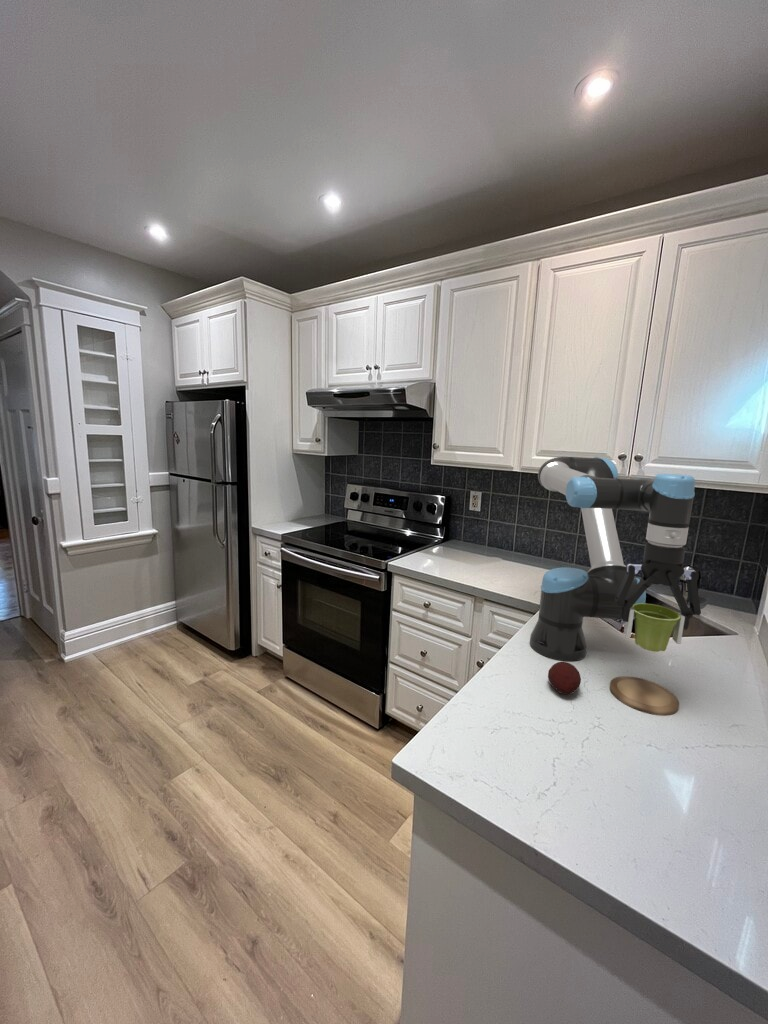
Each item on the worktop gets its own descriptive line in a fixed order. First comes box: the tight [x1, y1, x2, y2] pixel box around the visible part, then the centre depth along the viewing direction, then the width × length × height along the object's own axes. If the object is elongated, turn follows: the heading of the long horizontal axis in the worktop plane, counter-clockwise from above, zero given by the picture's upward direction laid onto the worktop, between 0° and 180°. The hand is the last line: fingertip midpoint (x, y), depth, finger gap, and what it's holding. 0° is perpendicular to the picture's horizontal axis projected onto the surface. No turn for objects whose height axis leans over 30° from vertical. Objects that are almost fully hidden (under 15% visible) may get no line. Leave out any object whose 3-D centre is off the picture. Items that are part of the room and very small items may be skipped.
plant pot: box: [632, 602, 680, 653], centre depth 97 cm, size 9×9×9 cm
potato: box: [547, 661, 582, 695], centre depth 101 cm, size 7×10×6 cm
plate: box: [609, 675, 680, 716], centre depth 100 cm, size 14×14×1 cm
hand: (651, 637), depth 97 cm, fingers closed on plant pot, 9 cm apart
